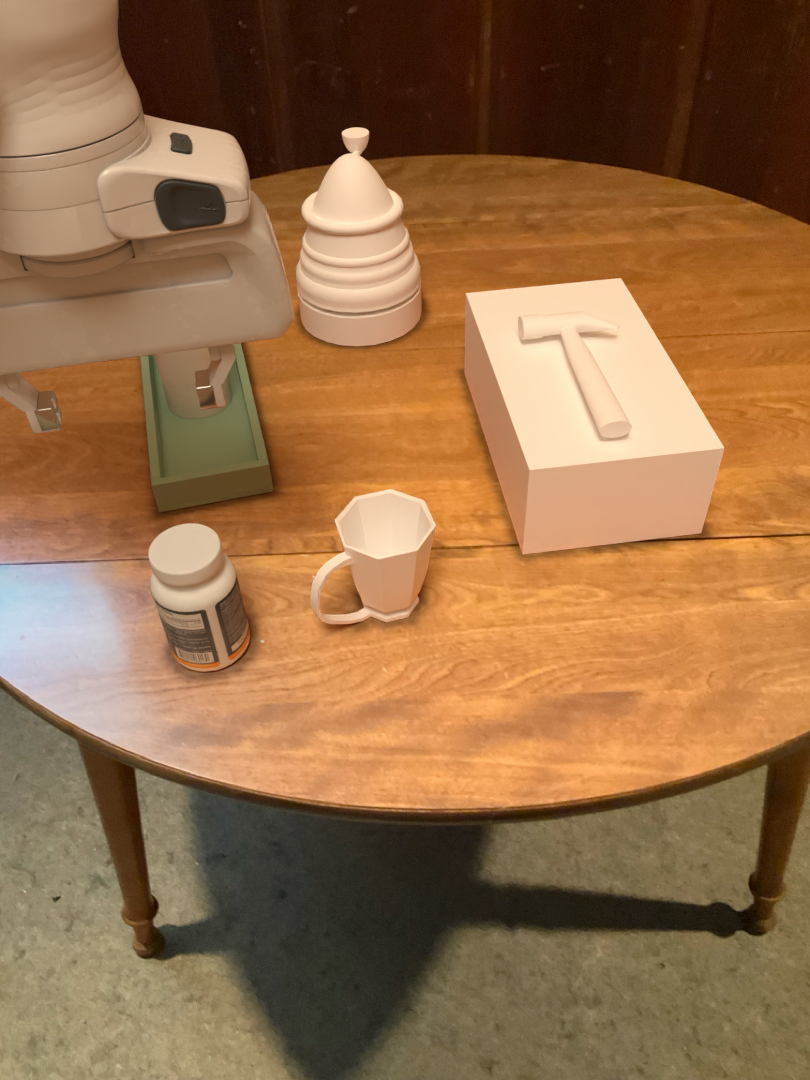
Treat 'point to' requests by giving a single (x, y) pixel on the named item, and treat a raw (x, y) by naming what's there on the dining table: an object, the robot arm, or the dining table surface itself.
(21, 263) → the robot arm
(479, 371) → the hammer embossed box
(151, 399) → the bottle tray
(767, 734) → the dining table surface
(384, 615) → the cup
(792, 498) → the dining table surface
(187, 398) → the white bottle
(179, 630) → the pill bottle
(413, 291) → the honey pot
